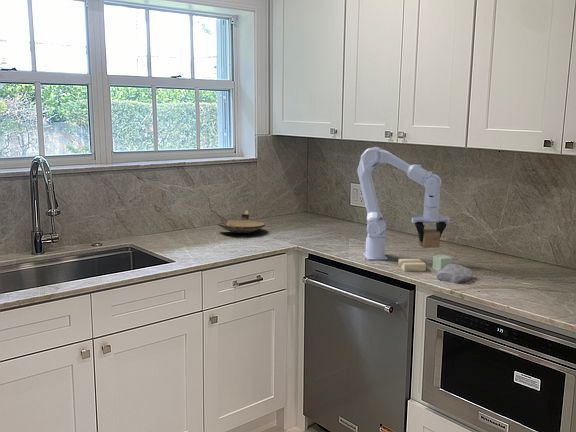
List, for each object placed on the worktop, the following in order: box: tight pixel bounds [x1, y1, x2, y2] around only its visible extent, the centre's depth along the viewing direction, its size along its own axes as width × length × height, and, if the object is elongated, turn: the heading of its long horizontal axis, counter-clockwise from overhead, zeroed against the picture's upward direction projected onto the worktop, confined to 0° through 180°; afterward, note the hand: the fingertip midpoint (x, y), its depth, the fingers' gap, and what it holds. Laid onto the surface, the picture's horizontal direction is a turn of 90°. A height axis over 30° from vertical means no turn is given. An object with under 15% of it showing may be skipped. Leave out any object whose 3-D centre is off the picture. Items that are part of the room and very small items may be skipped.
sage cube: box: [432, 254, 453, 272], centre depth 212 cm, size 5×5×5 cm
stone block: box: [436, 263, 474, 284], centre depth 201 cm, size 12×5×10 cm
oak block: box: [397, 258, 427, 272], centre depth 213 cm, size 8×8×3 cm
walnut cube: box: [418, 228, 441, 249], centre depth 219 cm, size 6×6×6 cm
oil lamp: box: [217, 210, 266, 234], centre depth 273 cm, size 22×30×8 cm
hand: (429, 241), depth 219 cm, fingers closed on walnut cube, 6 cm apart
